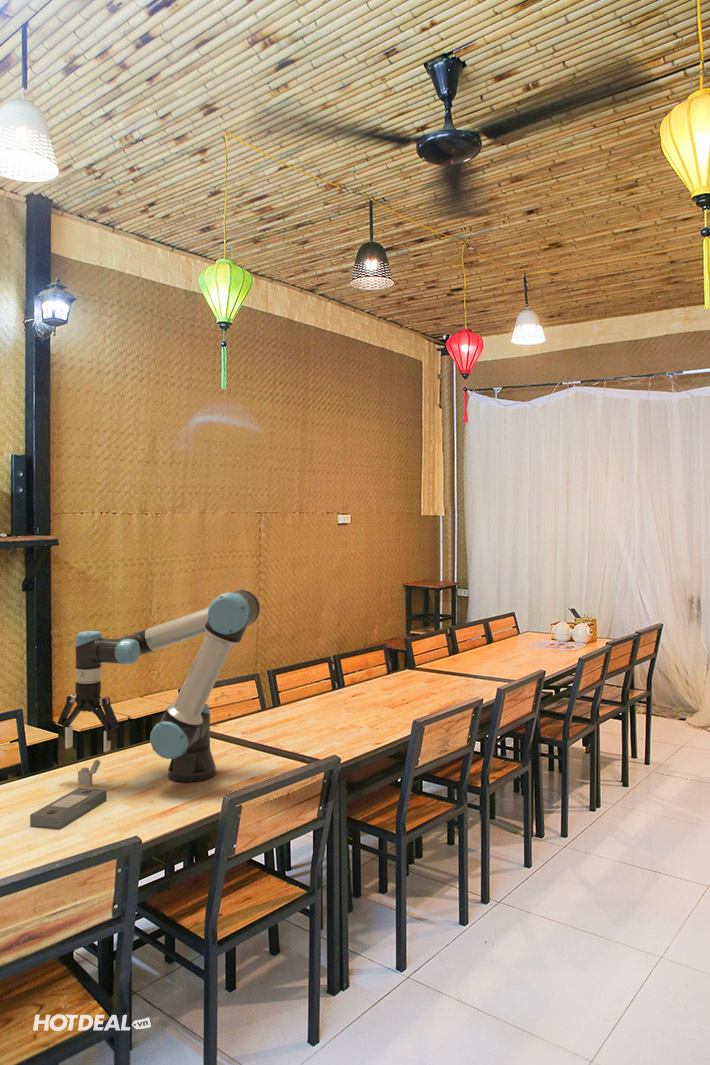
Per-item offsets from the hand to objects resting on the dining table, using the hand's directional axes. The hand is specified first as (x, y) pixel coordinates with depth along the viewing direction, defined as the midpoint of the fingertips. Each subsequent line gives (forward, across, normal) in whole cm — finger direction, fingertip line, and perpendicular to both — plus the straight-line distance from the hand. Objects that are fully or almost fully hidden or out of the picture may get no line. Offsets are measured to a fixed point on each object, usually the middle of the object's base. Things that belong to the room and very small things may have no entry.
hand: (87, 749), depth 231 cm
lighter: (+11, +1, 0) cm, 11 cm away
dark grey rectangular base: (+11, +9, -21) cm, 25 cm away
